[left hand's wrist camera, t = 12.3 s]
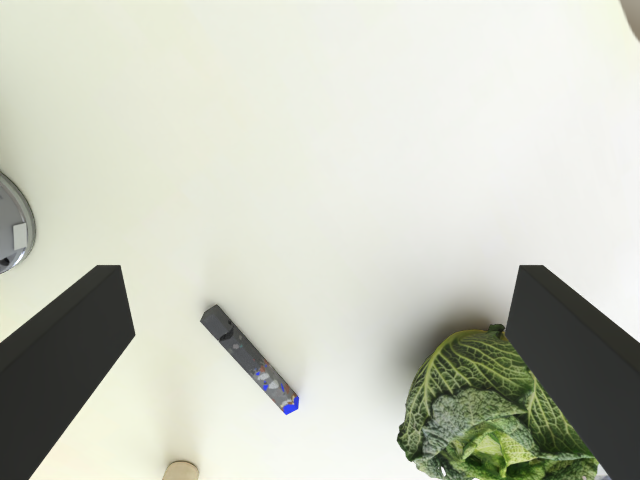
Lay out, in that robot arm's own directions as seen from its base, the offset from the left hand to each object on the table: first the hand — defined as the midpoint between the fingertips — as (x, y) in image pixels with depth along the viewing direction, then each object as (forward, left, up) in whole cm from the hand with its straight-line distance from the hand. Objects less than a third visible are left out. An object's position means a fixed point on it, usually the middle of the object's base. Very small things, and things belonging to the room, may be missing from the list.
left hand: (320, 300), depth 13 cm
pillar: (-7, -30, -34) cm, 46 cm away
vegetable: (+23, -29, -34) cm, 50 cm away
